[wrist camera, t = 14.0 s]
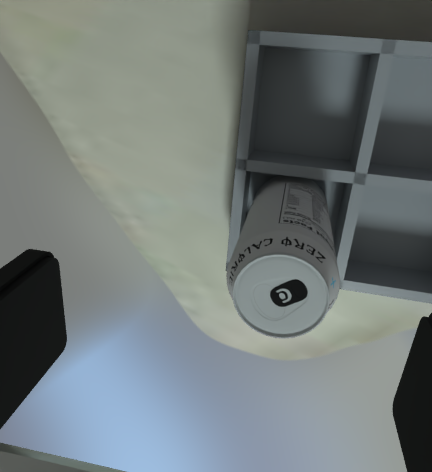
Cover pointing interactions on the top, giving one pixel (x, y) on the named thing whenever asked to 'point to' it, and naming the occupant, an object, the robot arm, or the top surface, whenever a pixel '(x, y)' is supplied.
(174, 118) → the top surface
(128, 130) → the top surface
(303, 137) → the can crate
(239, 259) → the energy drink can
